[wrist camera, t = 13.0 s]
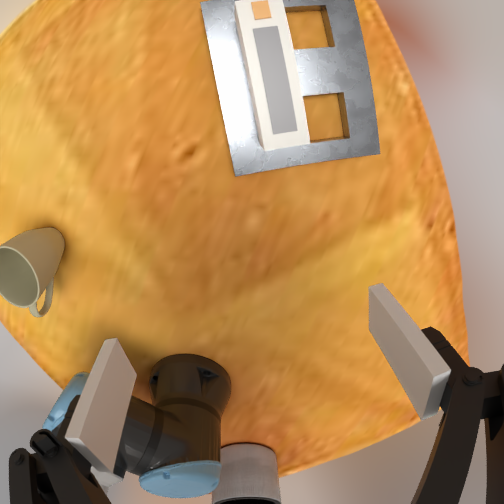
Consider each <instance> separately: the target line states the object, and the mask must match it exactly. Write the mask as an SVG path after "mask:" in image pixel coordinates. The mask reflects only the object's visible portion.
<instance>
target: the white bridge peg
mask: <svg viewBox="0 0 504 504" xmlns="http://www.w3.org/2000/svg"><path fill="white" fill-rule="evenodd" d="M235 22H236V27H237V31H238V36H239V41H240V46H241V51H242V55H243V60H244V65H245V70H246V75H247V80H248V85H249V90H250V95H251V101H252V106H253V111H254V116H255V121H256V127H257V132H258V137H259V143H260V146H261V147H262V148H263V150H264V151H268V150H274V149H279V148H286V147H292V146H298V145H305V144H310V138H309V132H308V125H307V119H306V113H305V107H304V101H303V96H302V90H301V85H300V79H299V74H298V69H297V64H296V59H295V54H294V49H293V44H292V39H291V35H290V30H289V26H288V21H287V17H286V13H285V8H284V4H283V0H239V1H235Z"/></svg>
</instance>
